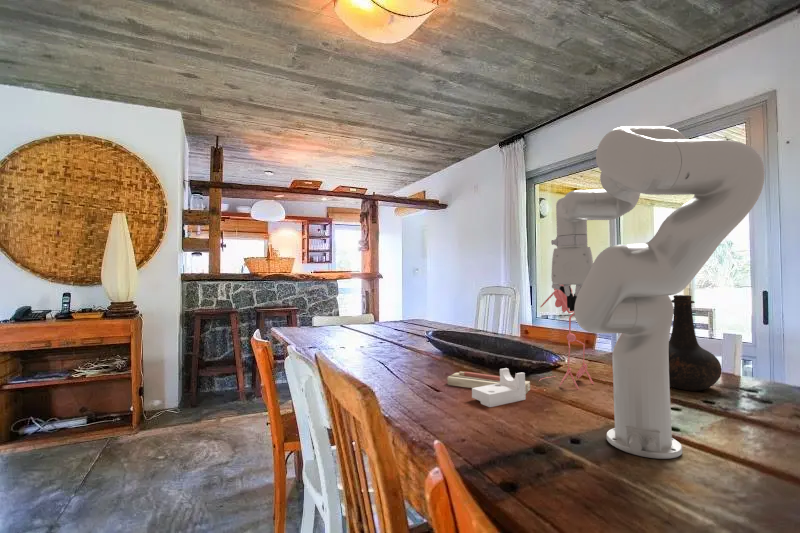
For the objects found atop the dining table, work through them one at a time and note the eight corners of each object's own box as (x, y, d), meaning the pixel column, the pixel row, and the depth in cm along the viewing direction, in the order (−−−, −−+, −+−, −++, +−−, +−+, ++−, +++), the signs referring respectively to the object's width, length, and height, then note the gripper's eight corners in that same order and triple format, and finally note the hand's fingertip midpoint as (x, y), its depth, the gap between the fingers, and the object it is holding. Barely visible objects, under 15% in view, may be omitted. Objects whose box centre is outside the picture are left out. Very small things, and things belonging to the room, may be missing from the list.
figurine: (608, 380, 124) (602, 273, 126) (566, 395, 108) (560, 273, 110) (564, 372, 136) (559, 275, 138) (520, 385, 121) (515, 275, 123)
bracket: (506, 394, 111) (506, 368, 112) (525, 400, 105) (524, 372, 106) (472, 401, 105) (471, 373, 106) (489, 408, 99) (489, 379, 99)
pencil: (501, 379, 117) (501, 376, 117) (499, 380, 116) (499, 377, 116) (460, 373, 125) (460, 370, 125) (458, 374, 124) (458, 371, 124)
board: (524, 395, 109) (524, 386, 109) (447, 384, 121) (447, 376, 121) (530, 389, 115) (529, 381, 115) (456, 379, 127) (456, 372, 127)
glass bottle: (637, 379, 125) (633, 294, 126) (692, 379, 125) (689, 293, 126) (673, 395, 107) (669, 296, 109) (739, 395, 107) (734, 295, 108)
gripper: (539, 243, 104) (541, 310, 103) (601, 240, 96) (603, 313, 95) (546, 245, 110) (548, 309, 110) (604, 242, 102) (606, 310, 101)
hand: (573, 310), depth 102 cm, fingers closed
